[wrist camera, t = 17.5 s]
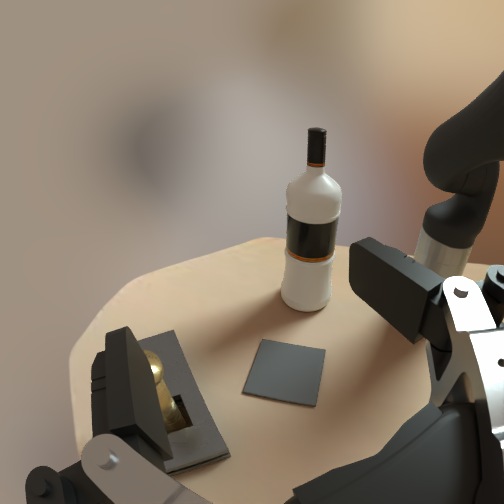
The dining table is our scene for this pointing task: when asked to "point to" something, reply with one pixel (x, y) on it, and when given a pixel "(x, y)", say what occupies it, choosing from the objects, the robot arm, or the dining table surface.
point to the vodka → (311, 231)
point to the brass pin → (165, 396)
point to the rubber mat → (286, 373)
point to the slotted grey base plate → (186, 393)
